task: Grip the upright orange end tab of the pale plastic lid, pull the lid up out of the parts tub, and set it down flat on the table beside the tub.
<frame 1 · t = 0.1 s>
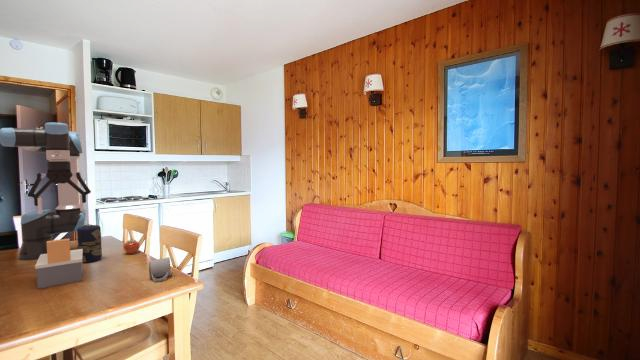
hand: (61, 212, 134), 28 cm above the table, fingers open, 13 cm apart
ceramic mug: (161, 278, 137), on the table
tomato: (132, 253, 173), on the table
lid: (61, 259, 136), point 8 cm above the table, touching tub
canister: (90, 260, 161), on the table
tub: (62, 278, 137), on the table
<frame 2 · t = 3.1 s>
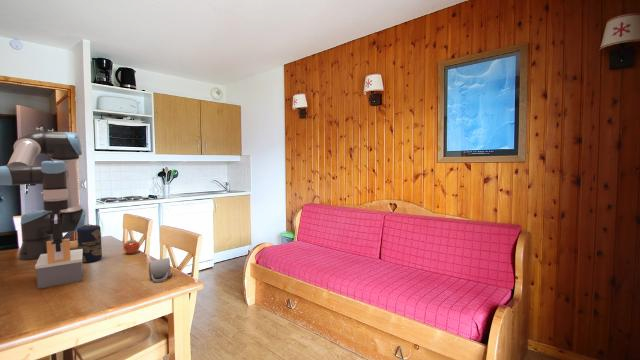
hand: (59, 258, 130), 11 cm above the table, fingers closed on lid, 2 cm apart
lid: (61, 259, 136), point 8 cm above the table, touching gripper, tub
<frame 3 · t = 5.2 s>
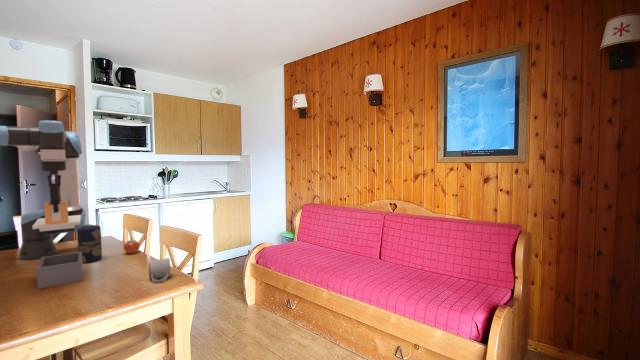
hand: (57, 219, 129), 26 cm above the table, fingers closed on lid, 2 cm apart
lid: (58, 222, 135), point 23 cm above the table, touching gripper
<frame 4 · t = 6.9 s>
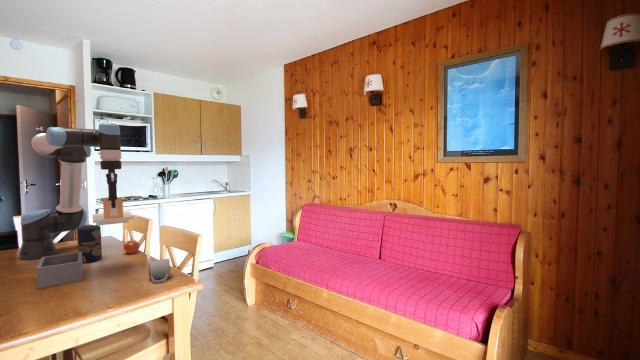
hand: (113, 214, 140), 26 cm above the table, fingers closed on lid, 2 cm apart
lid: (112, 217, 146), point 23 cm above the table, touching gripper
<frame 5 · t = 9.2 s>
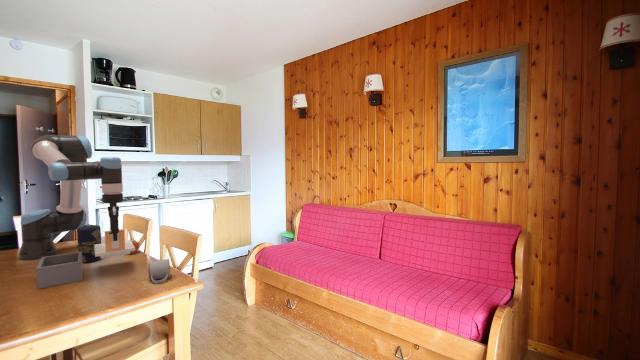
hand: (115, 247, 141), 12 cm above the table, fingers closed on lid, 2 cm apart
lid: (114, 248, 147), point 9 cm above the table, touching gripper
when the fingers open (6 cm above the table, at t = 11.1 s): lid drops 2 cm, point 1 cm above the table.
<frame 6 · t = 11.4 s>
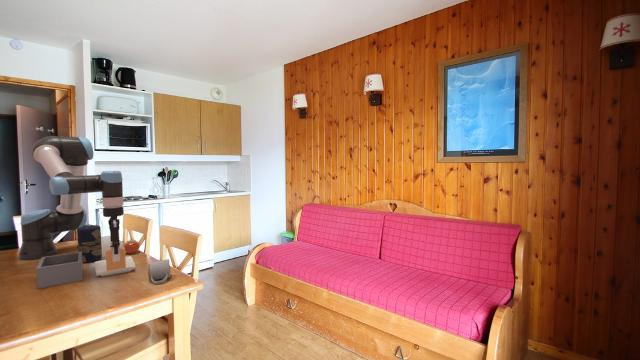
hand: (115, 258, 141), 7 cm above the table, fingers open, 8 cm apart
lid: (115, 266, 148), point 1 cm above the table
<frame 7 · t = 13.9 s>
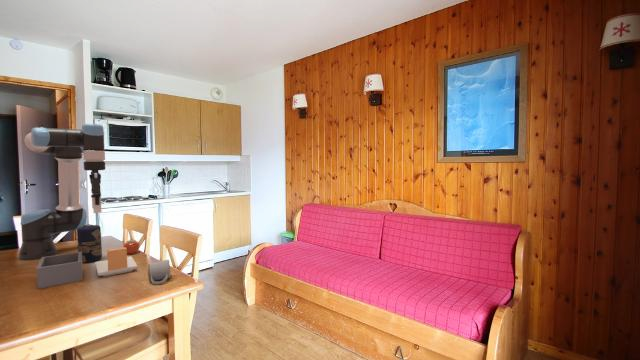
hand: (96, 210, 140), 28 cm above the table, fingers open, 13 cm apart
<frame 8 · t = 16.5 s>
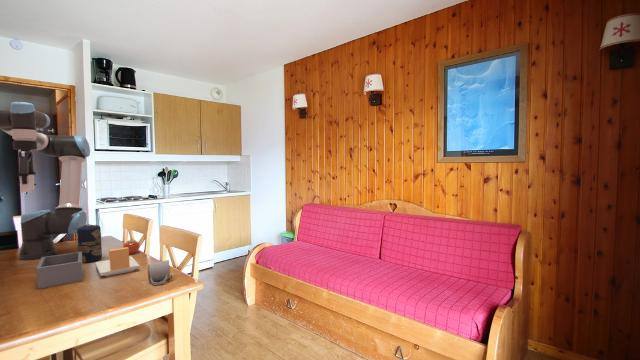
hand: (28, 191, 137), 37 cm above the table, fingers open, 13 cm apart
at the end: lid touching table; lid inside the target area (1.2 cm from its centre), point 1.2 cm above the table; lid tilted 0° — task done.
